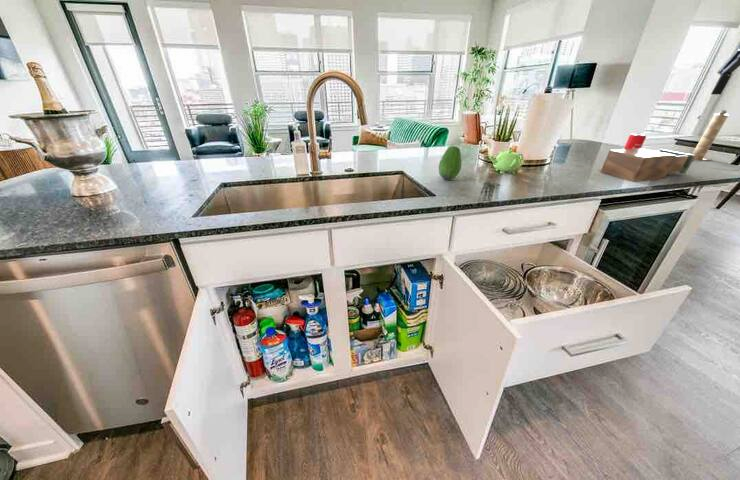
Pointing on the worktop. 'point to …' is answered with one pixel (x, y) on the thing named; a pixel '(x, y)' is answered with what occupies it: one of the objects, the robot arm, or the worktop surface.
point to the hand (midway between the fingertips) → (729, 95)
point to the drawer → (679, 161)
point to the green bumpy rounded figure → (507, 161)
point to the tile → (703, 159)
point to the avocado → (450, 163)
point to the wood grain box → (637, 164)
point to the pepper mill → (710, 134)
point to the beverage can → (635, 141)
